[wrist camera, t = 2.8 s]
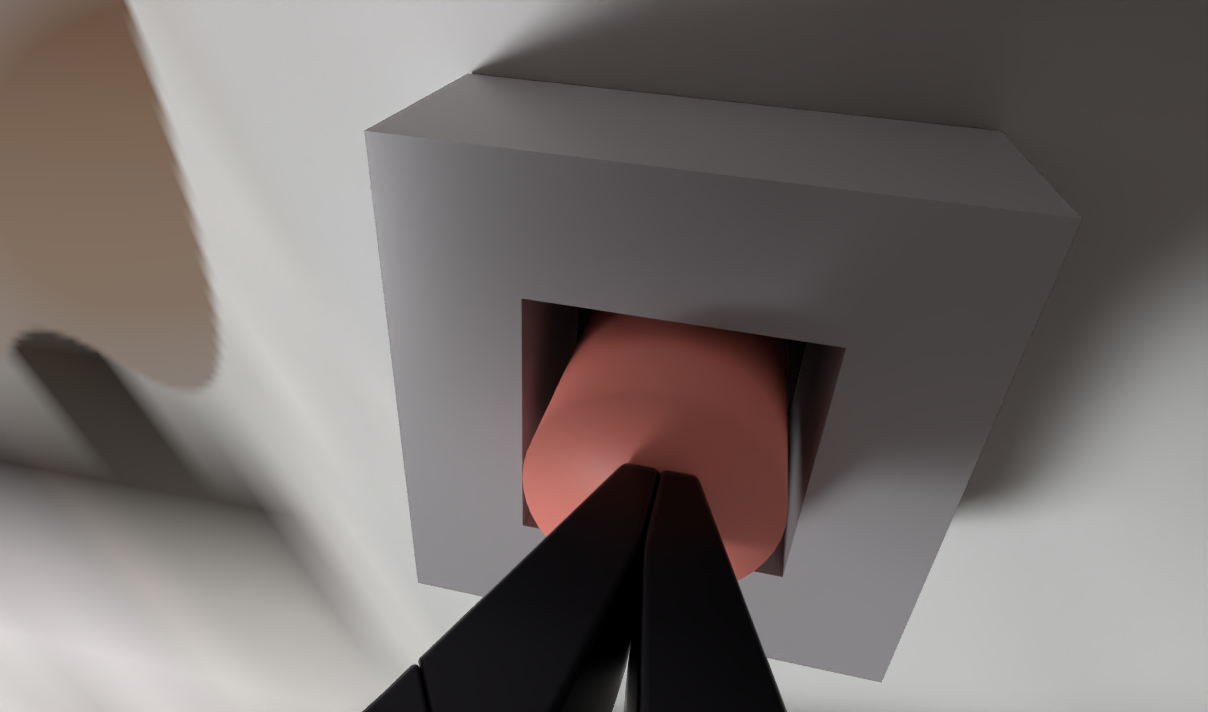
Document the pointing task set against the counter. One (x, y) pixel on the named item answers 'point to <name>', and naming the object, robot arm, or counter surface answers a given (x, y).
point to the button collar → (712, 315)
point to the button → (670, 424)
